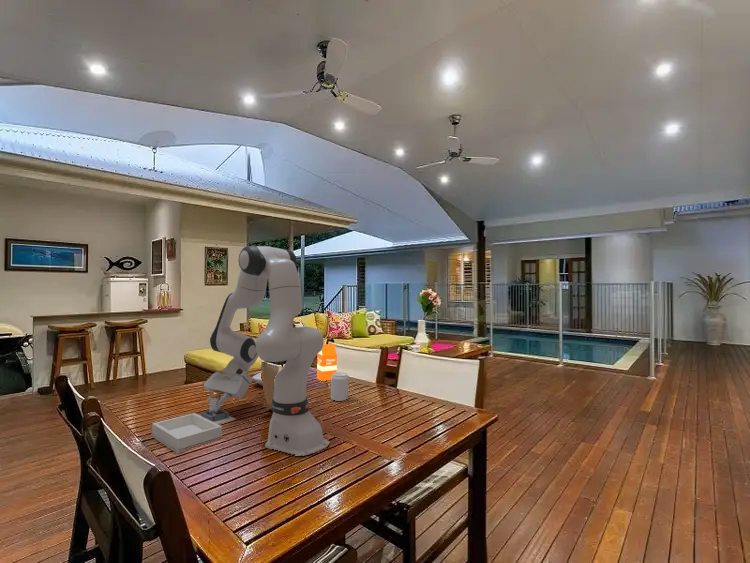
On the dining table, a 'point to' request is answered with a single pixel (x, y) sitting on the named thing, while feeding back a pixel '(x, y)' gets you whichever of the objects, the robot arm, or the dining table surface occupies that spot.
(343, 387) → the beverage can
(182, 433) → the tray
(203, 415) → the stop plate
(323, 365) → the orange juice
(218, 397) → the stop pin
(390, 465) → the dining table surface
